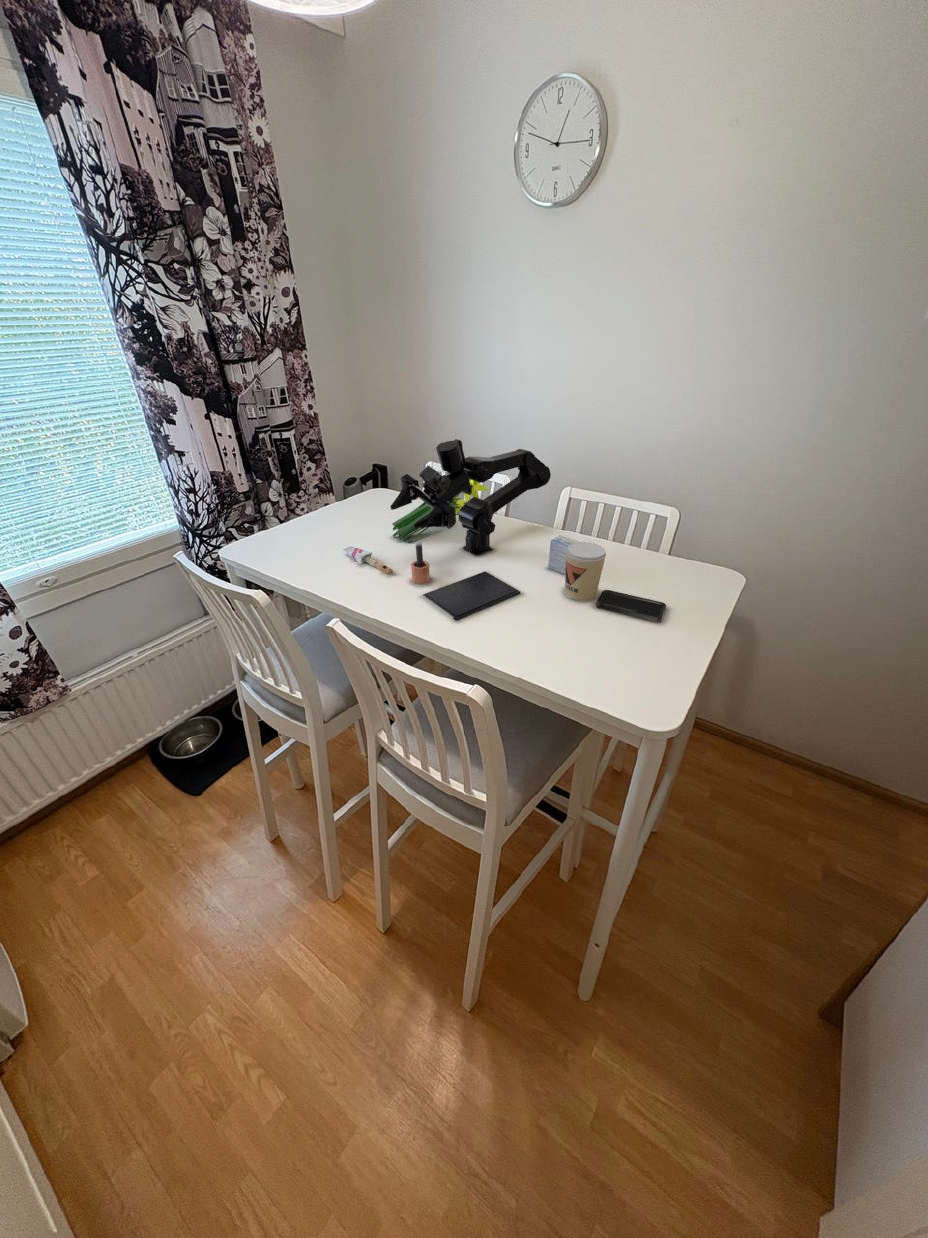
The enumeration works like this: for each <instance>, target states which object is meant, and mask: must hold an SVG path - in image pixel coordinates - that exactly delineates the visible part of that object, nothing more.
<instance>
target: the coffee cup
mask: <svg viewBox="0 0 928 1238" xmlns="http://www.w3.org/2000/svg"><path fill="white" fill-rule="evenodd" d="M606 557H607V552H606V549H605V548H604V547H603V546H601V545H600V544H597V543H595V542H589V541H580V542H577V543H573V544H571V545H569V546H568V548H567V550H566V572H565V574H564V575H565V576H564V593H565V595H566V596H567V597H568V598H569V599H571V600H574V601H578V602H586V601H587V602H588V601H592V600H593V599H595V598H596V596H597V593H598V589H599V586H600V582H601V576H602V572H603V568H604V564H605V559H606Z"/></svg>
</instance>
